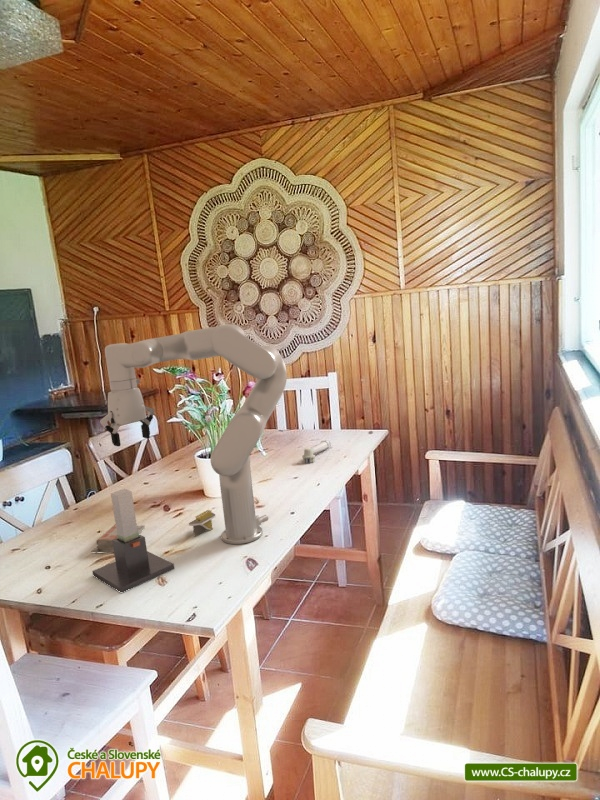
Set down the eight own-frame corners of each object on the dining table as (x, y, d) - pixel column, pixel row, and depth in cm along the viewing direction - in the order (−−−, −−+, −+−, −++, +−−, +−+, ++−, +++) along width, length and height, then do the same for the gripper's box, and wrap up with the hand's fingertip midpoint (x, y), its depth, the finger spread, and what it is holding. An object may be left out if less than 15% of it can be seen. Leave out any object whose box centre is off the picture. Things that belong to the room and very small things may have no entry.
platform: (237, 525, 186) (235, 506, 185) (200, 548, 171) (197, 527, 170) (210, 520, 193) (207, 501, 191) (171, 542, 178) (168, 522, 177)
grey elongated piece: (331, 439, 266) (311, 447, 243) (332, 454, 266) (311, 463, 243) (321, 439, 268) (299, 447, 245) (321, 454, 268) (300, 462, 245)
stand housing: (144, 554, 170) (139, 522, 168) (174, 568, 159) (169, 534, 157) (93, 576, 159) (87, 542, 157) (121, 593, 148) (115, 557, 146)
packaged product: (120, 539, 172) (88, 540, 173) (122, 554, 173) (91, 555, 174) (143, 515, 189) (114, 517, 191) (145, 529, 190) (117, 530, 192)
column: (133, 543, 160) (124, 488, 157) (140, 547, 157) (132, 491, 154) (119, 549, 157) (110, 493, 155) (126, 553, 154) (117, 496, 152)
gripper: (143, 380, 178) (150, 433, 181) (89, 390, 166) (99, 447, 169) (156, 381, 173) (163, 436, 176) (101, 391, 161) (111, 450, 164)
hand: (132, 441), depth 172 cm, fingers open, 9 cm apart
